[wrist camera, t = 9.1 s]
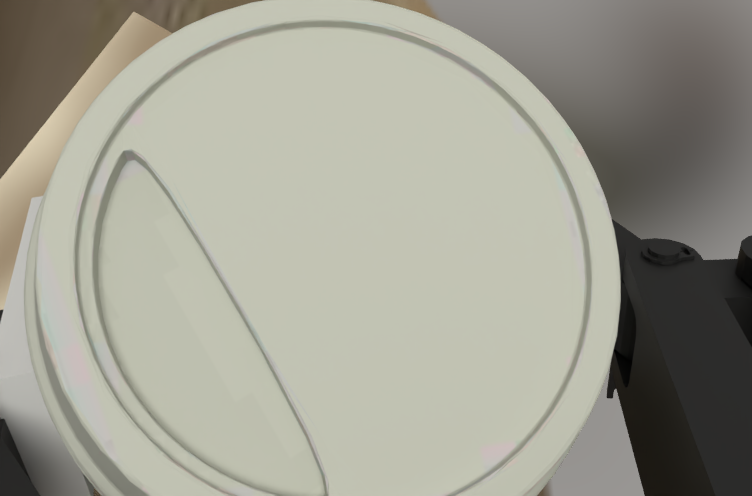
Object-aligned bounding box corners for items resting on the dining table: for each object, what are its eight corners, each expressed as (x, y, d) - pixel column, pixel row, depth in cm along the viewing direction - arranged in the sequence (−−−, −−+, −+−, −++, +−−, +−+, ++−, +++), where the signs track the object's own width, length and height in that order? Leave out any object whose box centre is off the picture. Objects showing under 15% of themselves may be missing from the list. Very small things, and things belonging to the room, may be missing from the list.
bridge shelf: (-31, 376, 33) (-134, 347, 24) (159, 115, 38) (133, 11, 29) (267, 539, 33) (277, 571, 24) (415, 259, 38) (467, 199, 29)
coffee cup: (150, 219, 21) (40, -79, 9) (430, 237, 22) (627, -3, 11) (116, 530, 18) (-92, 634, 7) (436, 527, 20) (702, 608, 8)
